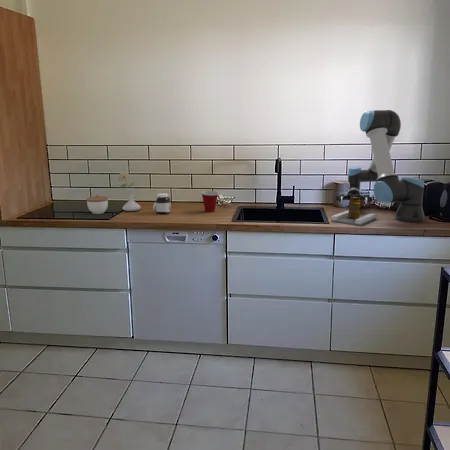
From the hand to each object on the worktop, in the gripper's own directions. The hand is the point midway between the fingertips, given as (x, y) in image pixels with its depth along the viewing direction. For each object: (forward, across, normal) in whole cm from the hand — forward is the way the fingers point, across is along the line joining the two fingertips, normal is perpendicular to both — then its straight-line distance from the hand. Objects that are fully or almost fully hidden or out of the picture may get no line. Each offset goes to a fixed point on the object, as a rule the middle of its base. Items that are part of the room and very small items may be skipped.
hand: (354, 201), depth 258 cm
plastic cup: (+1, +85, -10) cm, 85 cm away
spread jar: (+11, +113, -10) cm, 114 cm away
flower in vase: (+9, +134, -10) cm, 135 cm away
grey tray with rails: (+7, 0, -10) cm, 12 cm away
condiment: (+7, 0, -9) cm, 11 cm away
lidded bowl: (+19, +151, -10) cm, 153 cm away
